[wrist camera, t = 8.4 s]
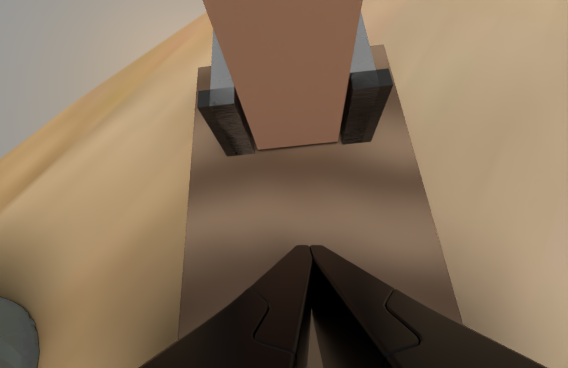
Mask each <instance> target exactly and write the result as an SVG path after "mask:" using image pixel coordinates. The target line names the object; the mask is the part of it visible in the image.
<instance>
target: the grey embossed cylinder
mask: <svg viewBox="0 0 568 368" xmlns="http://www.w3.org/2000/svg"><path fill="white" fill-rule="evenodd" d="M35 325H36V324H35V322H34V321H33V319H31V318H29V313H28V312H26V311H25V310H24V308H23V307H20V306H19V305H18V304H16V303H14V302H12V301H10V300H7V299H5V298H2V297H0V368H37V365H38V359H39V344H38V335H37V331H36V329H35Z"/></svg>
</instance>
